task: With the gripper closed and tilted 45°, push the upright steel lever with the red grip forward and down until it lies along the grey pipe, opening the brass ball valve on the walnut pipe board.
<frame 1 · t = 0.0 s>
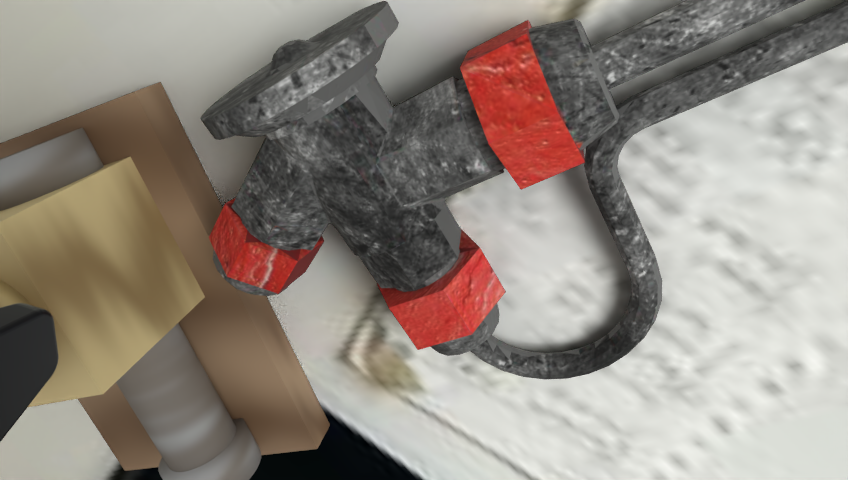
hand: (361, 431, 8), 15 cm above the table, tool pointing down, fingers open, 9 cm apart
ball valve manifold: (143, 227, 27), on the table
valve: (593, 149, 21), on the table
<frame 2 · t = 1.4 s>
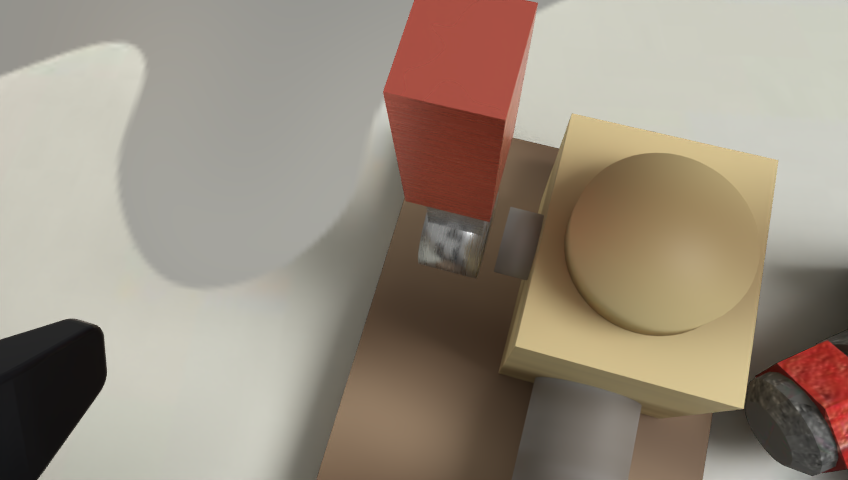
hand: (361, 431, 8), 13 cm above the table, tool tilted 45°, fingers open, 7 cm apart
ball valve manifold: (587, 312, 22), on the table
valve lever: (459, 175, 14), point 9 cm above the table, hinge at 0.0°
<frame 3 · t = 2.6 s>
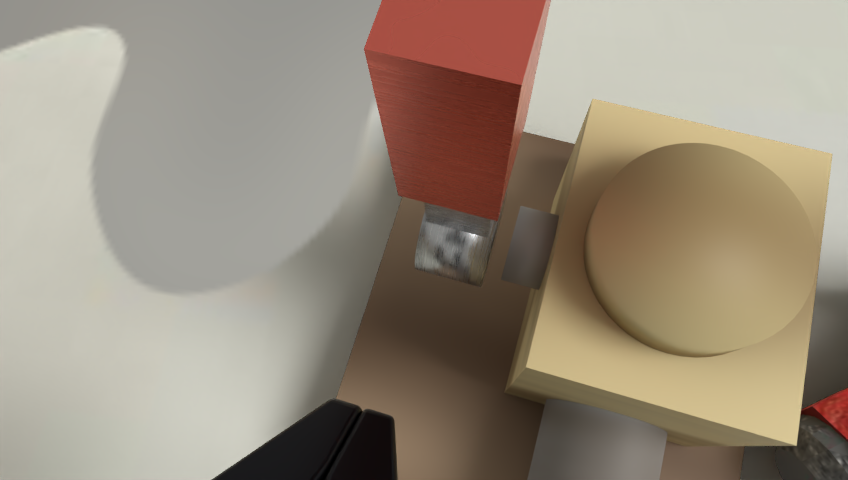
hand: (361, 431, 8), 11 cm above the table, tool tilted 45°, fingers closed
ball valve manifold: (604, 324, 20), on the table
valve lever: (462, 167, 12), point 9 cm above the table, hinge at 0.0°
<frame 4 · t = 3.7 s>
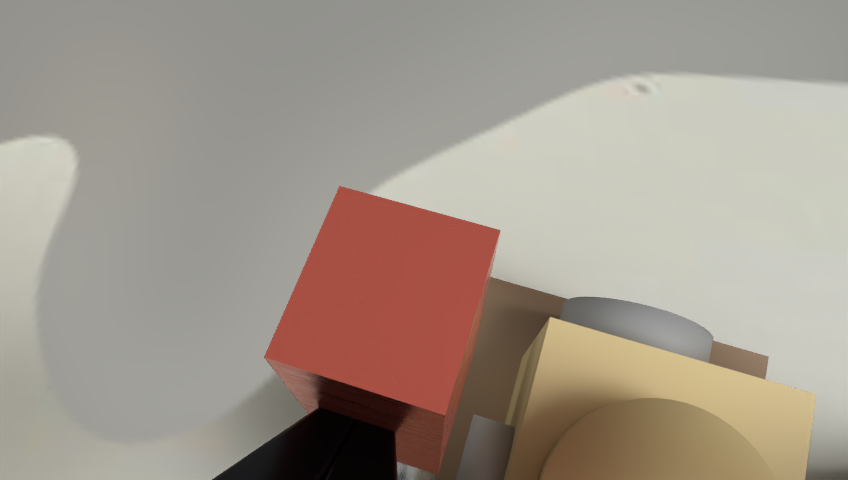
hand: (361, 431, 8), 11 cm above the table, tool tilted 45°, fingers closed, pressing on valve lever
valve lever: (403, 400, 11), point 9 cm above the table, hinge at 9.6°, touching gripper
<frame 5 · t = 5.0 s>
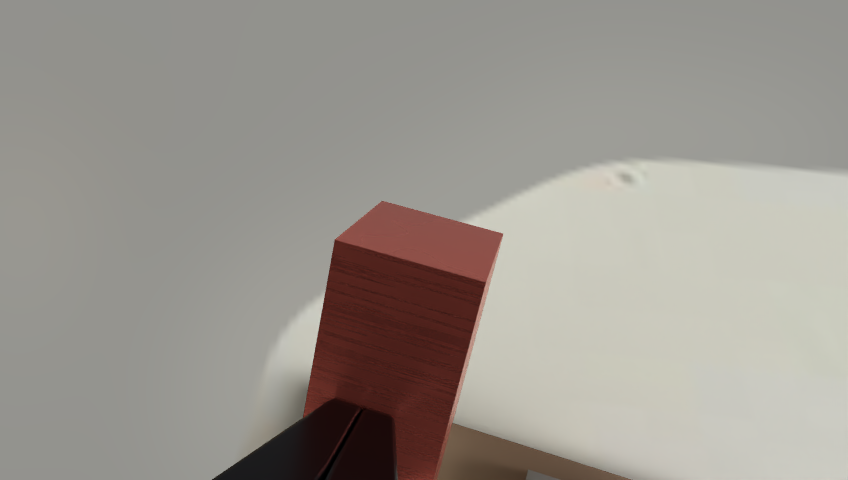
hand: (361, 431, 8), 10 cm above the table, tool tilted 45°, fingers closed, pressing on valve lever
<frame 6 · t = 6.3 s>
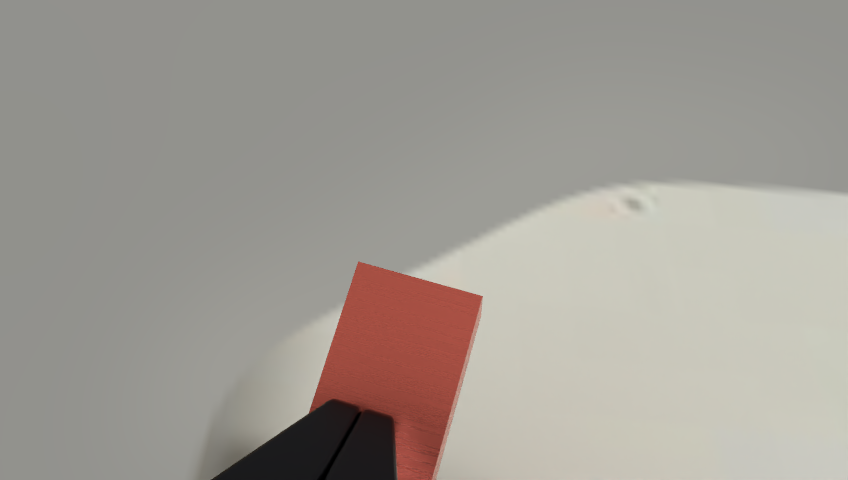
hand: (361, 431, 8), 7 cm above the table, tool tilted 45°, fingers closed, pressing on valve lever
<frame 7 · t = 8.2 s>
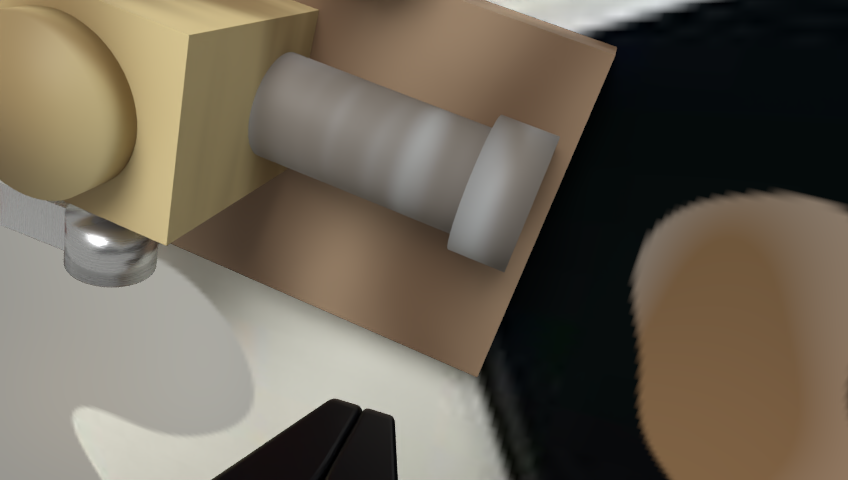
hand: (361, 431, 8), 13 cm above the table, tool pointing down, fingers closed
ball valve manifold: (240, 53, 21), on the table
valve lever: (0, 194, 19), point 6 cm above the table, hinge at 86.5°
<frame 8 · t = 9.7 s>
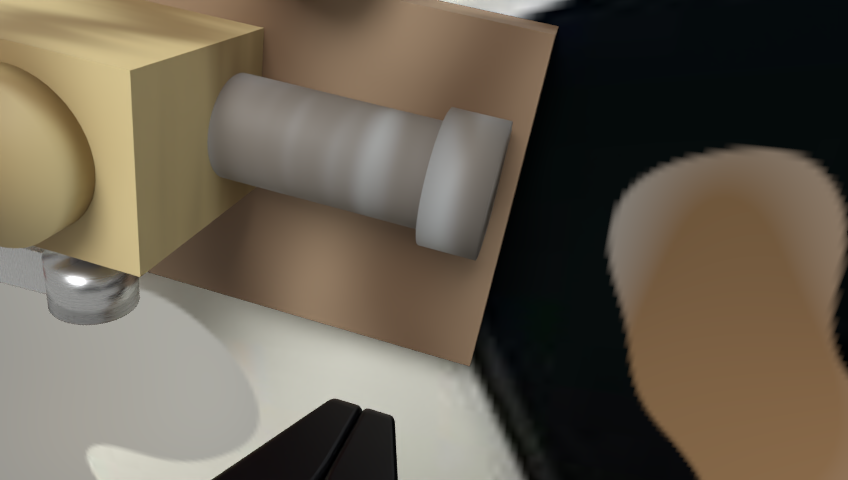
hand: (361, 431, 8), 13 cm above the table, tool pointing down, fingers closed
ball valve manifold: (196, 79, 21), on the table
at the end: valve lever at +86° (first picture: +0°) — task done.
